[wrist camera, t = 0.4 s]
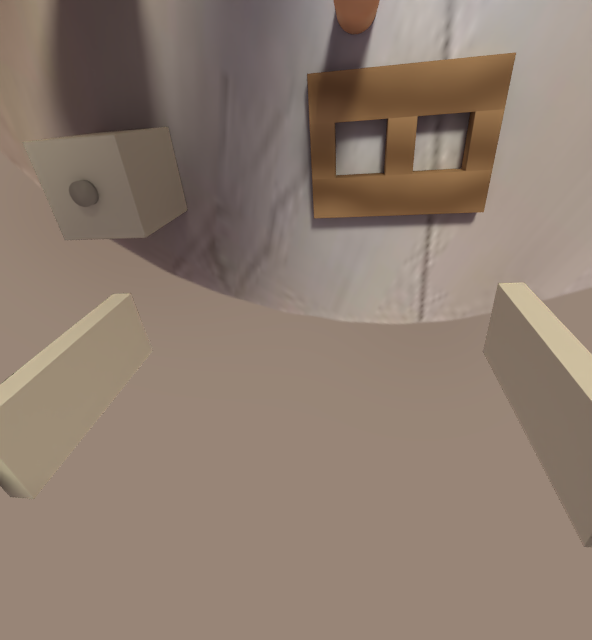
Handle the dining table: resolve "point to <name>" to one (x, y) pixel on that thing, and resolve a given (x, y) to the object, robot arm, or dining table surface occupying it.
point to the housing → (109, 182)
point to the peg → (355, 14)
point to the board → (407, 134)
